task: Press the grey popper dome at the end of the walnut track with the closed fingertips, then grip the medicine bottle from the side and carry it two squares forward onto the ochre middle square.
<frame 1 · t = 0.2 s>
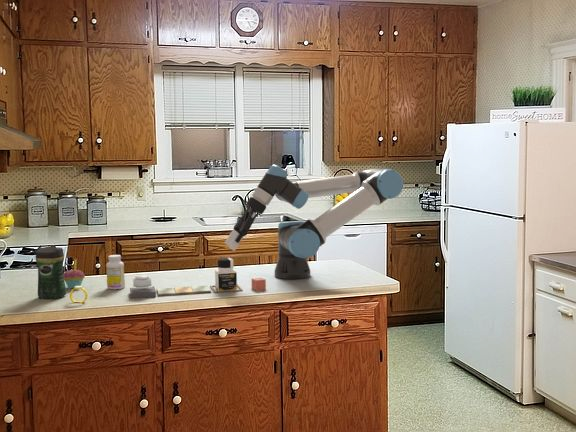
hand: (229, 247, 258), 16 cm above the table, tool tilted 35°, fingers open, 13 cm apart
popper base: (142, 295, 247), on the table
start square: (226, 288, 256), on the table
track: (183, 291, 252), on the table
medicine bottle: (226, 289, 256), on the table
die: (258, 289, 256), on the table
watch: (79, 303, 237), on the table
coffee jar: (52, 297, 246), on the table
dome: (142, 281, 247), point 5 cm above the table, slide at -0.2 cm
supplement bottle: (116, 288, 259), on the table
cupcake: (73, 288, 261), on the table
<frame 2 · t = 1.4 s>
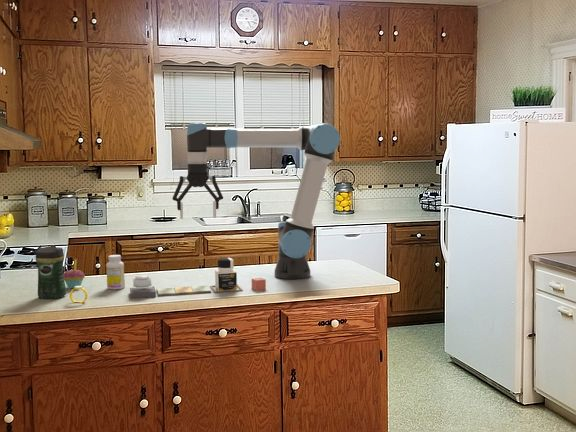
hand: (198, 218, 261), 27 cm above the table, tool pointing down, fingers open, 12 cm apart
nothing on the table moved.
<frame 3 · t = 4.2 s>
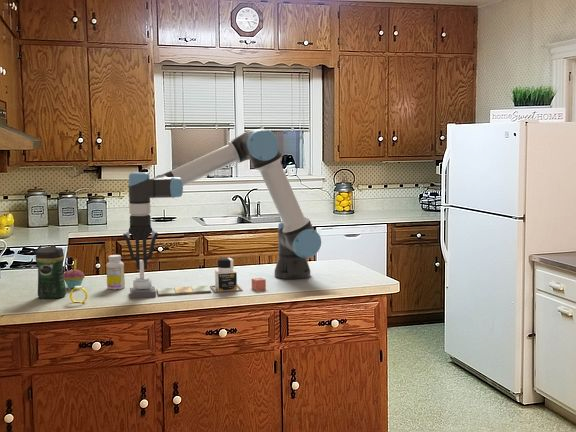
hand: (141, 277, 247), 7 cm above the table, tool pointing down, fingers closed
dome: (142, 282, 247), point 5 cm above the table, slide at -0.8 cm, touching gripper
everything else where it was.
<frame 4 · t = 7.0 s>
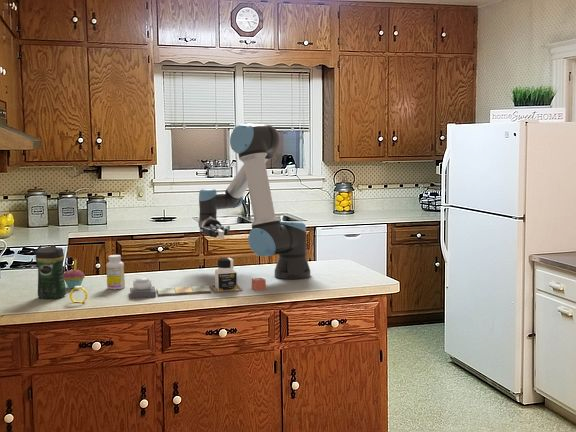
hand: (221, 234, 262), 20 cm above the table, tool horizontal, fingers closed
dome: (142, 283, 247), point 4 cm above the table, slide at -1.0 cm
everything else where it was.
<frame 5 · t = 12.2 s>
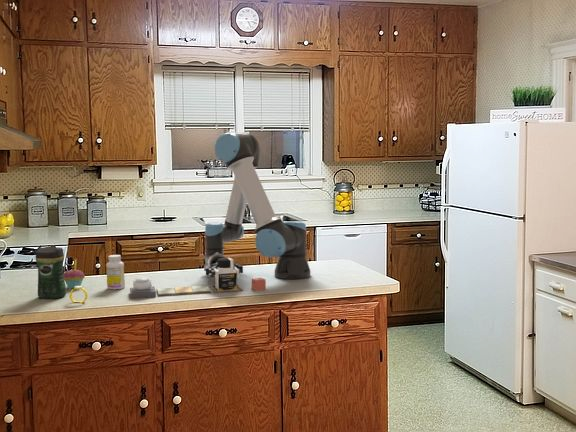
hand: (227, 274, 251), 7 cm above the table, tool horizontal, fingers closed on medicine bottle, 7 cm apart
medicine bottle: (226, 289, 256), on the table, touching gripper
everything else where it was.
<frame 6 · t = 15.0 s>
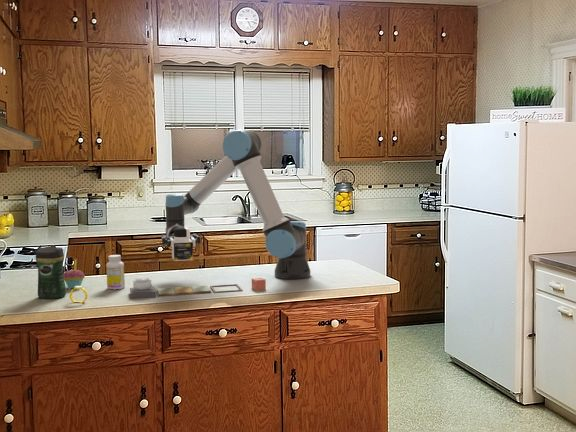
hand: (183, 243, 245), 19 cm above the table, tool horizontal, fingers closed on medicine bottle, 7 cm apart
medicine bottle: (182, 259, 251), point 12 cm above the table, touching gripper
everything else where it was.
when the fingers open (9 cm above the table, at t = 17.3 s): medicine bottle drops 1 cm, resting on track.
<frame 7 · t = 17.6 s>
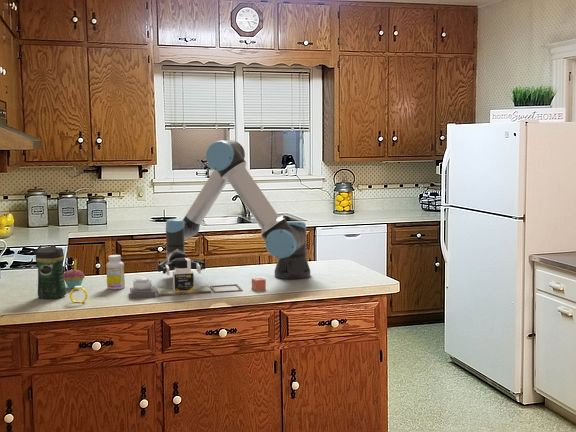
hand: (184, 270, 247), 9 cm above the table, tool horizontal, fingers open, 11 cm apart
medicine bottle: (183, 290, 252), point 1 cm above the table, touching track
everything else where it was.
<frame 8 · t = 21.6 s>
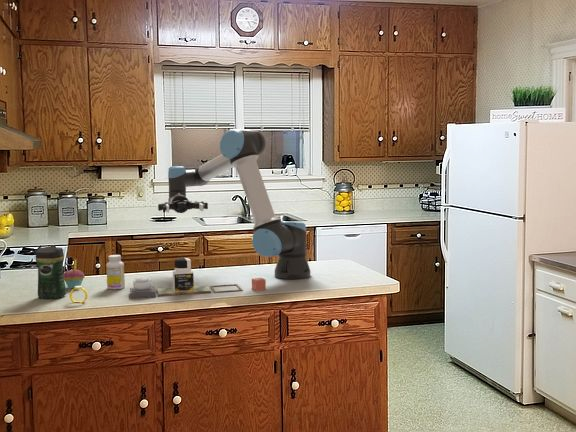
hand: (185, 208, 266), 30 cm above the table, tool horizontal, fingers open, 13 cm apart
nothing on the table moved.
at the end: medicine bottle inside the target area on the track (0.0 cm from its centre), point 0.6 cm above the track's base; medicine bottle tilted 0°; the gripper is holding nothing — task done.
